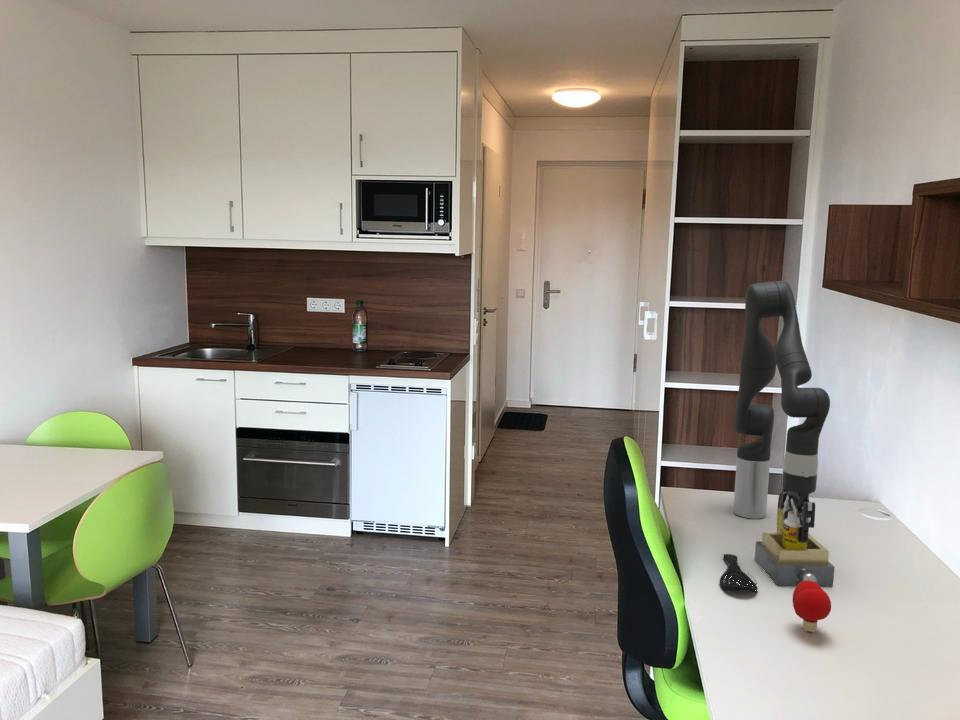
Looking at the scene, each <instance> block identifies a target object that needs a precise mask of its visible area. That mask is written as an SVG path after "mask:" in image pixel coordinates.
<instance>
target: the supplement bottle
mask: <svg viewBox="0 0 960 720" xmlns="http://www.w3.org/2000/svg"><path fill="white" fill-rule="evenodd" d="M800 514H802V513H800ZM801 520H802V518H801ZM798 526H799V525H798V520H797V518H795V515H794V511H789V512H788V518H786V519H785V520H784V526H783V539H782V548H783V549H807V542H806V543H800V542H798V541H797V536H798Z"/></svg>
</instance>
